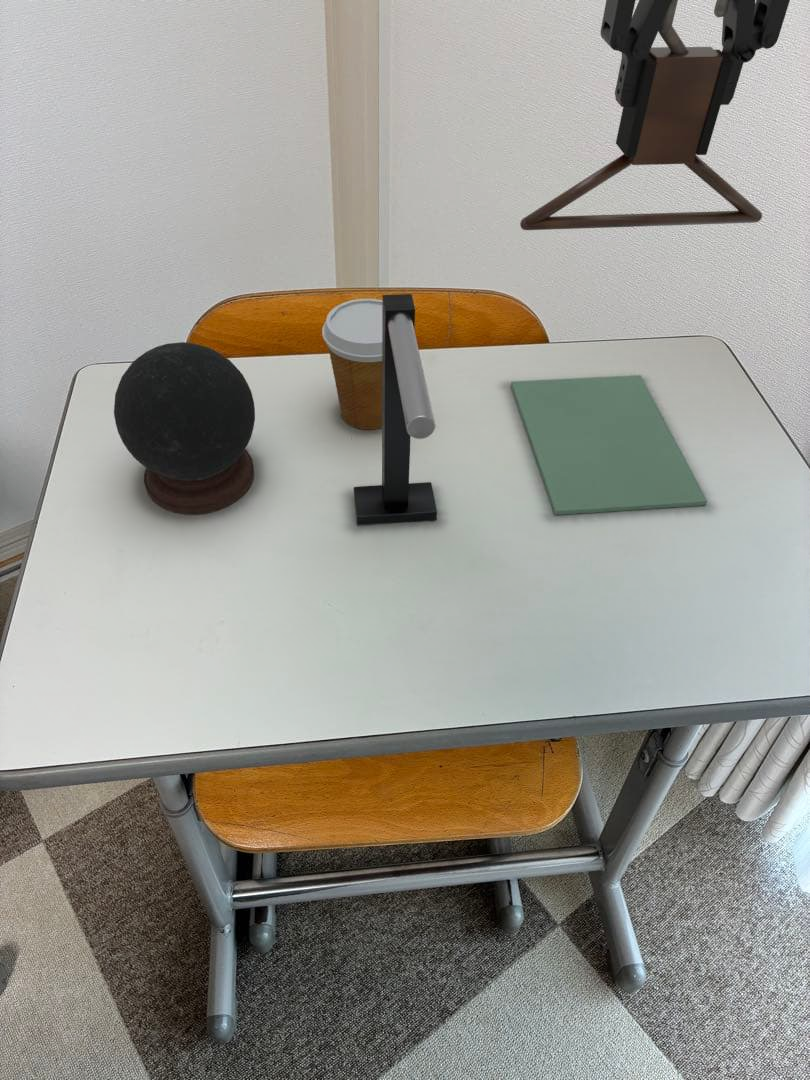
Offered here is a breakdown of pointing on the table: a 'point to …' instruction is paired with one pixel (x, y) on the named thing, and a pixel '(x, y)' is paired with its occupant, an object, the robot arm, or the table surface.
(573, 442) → the mat
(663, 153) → the hanger
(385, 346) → the black and grey stand
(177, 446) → the black ball on stand
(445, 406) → the table surface
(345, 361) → the disposable coffee cup
